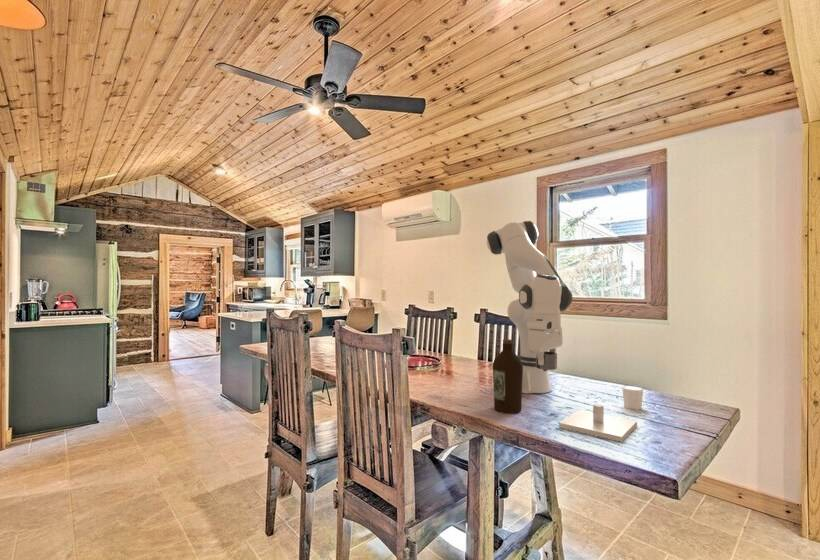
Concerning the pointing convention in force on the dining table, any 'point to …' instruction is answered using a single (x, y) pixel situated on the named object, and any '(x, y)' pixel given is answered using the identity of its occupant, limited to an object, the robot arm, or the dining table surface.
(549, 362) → the steel collar
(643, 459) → the dining table surface
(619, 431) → the post stand
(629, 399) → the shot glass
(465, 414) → the dining table surface
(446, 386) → the dining table surface
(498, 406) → the olive oil
